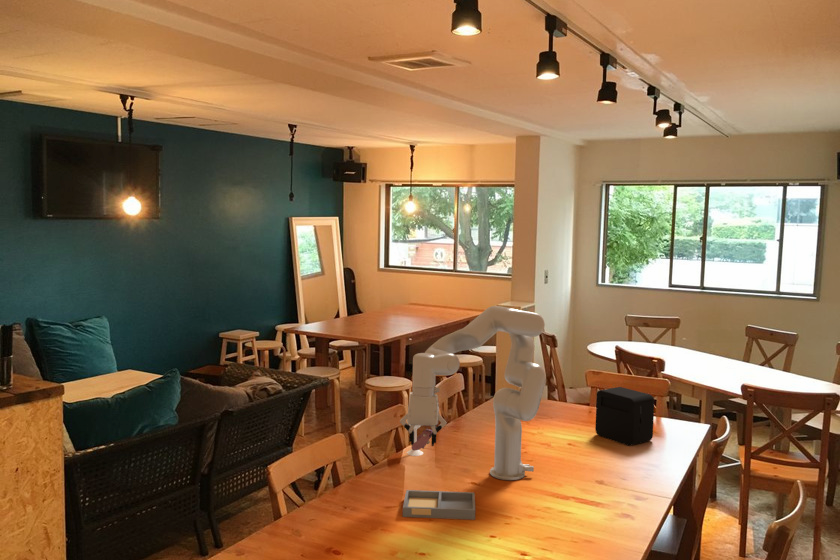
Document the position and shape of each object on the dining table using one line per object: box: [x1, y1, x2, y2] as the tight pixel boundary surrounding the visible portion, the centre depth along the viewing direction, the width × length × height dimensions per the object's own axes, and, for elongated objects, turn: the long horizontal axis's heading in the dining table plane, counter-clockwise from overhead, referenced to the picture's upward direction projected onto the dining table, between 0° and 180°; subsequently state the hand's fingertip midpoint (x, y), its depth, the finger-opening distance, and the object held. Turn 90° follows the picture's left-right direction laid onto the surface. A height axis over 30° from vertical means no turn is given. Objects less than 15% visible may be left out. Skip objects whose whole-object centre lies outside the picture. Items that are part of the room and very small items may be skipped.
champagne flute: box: [406, 391, 424, 457], centre depth 277 cm, size 7×7×24 cm
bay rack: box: [402, 489, 476, 521], centre depth 225 cm, size 22×14×3 cm, turn 86°
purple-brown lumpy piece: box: [411, 428, 433, 451], centre depth 234 cm, size 10×5×7 cm, turn 168°
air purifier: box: [595, 386, 655, 447], centre depth 301 cm, size 20×15×20 cm
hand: (422, 443), depth 234 cm, fingers closed on purple-brown lumpy piece, 6 cm apart
